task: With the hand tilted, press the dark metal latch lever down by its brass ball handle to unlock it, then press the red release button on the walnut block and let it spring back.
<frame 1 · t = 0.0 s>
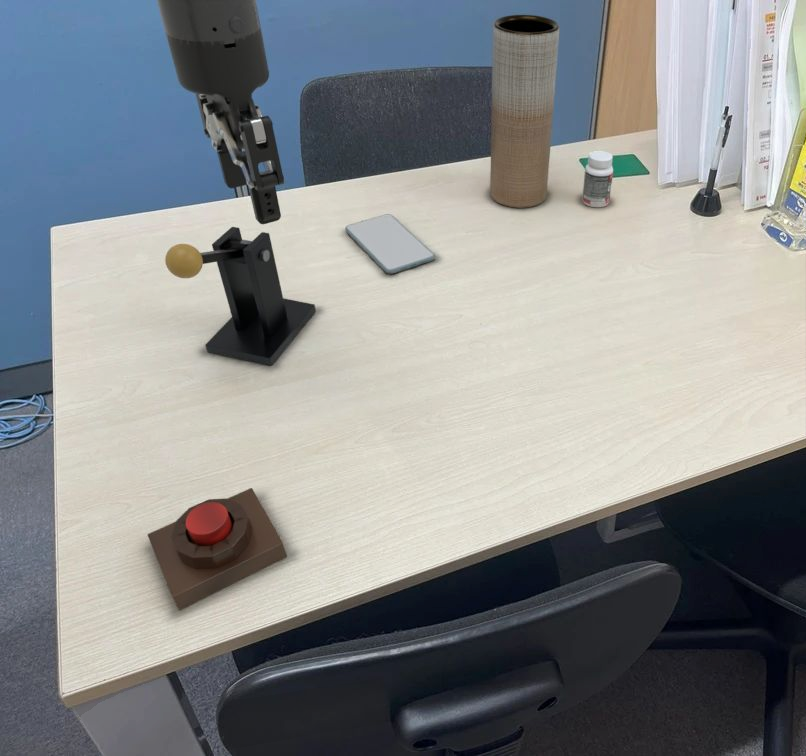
hand: (252, 202, 69), 24 cm above the table, tool pointing down, fingers open, 8 cm apart
latch lever: (215, 256, 79), point 14 cm above the table, hinge at 25.0°
vase: (518, 196, 123), on the table
latch bracket: (263, 331, 92), on the table
pill bottle: (595, 202, 122), on the table
smartphone: (389, 246, 109), on the table
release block: (220, 552, 67), on the table
release button: (208, 523, 64), point 4 cm above the table, slide at 0.1 cm
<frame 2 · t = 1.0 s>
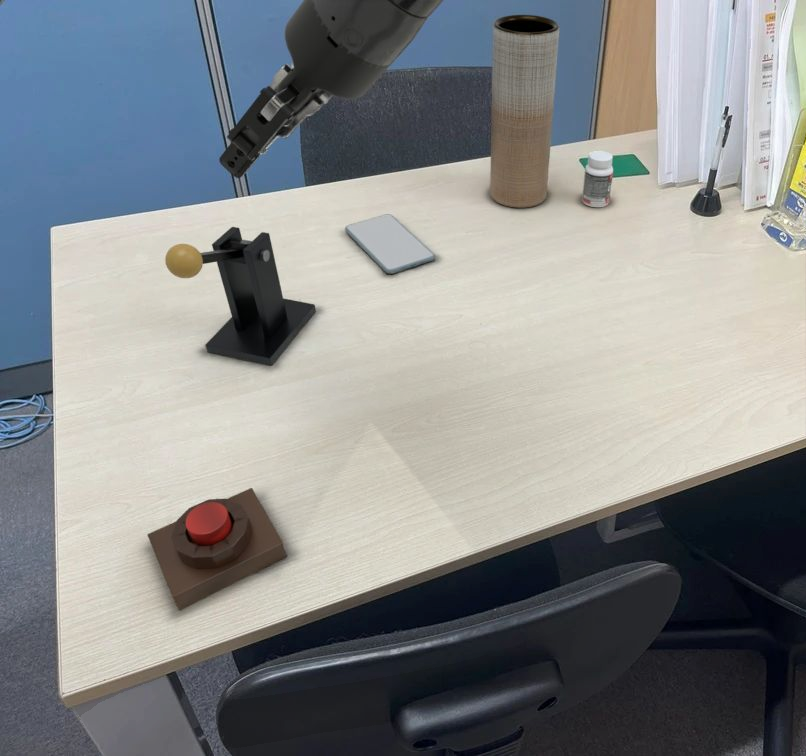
hand: (254, 148, 63), 30 cm above the table, tool tilted 45°, fingers open, 8 cm apart
nothing on the table moved.
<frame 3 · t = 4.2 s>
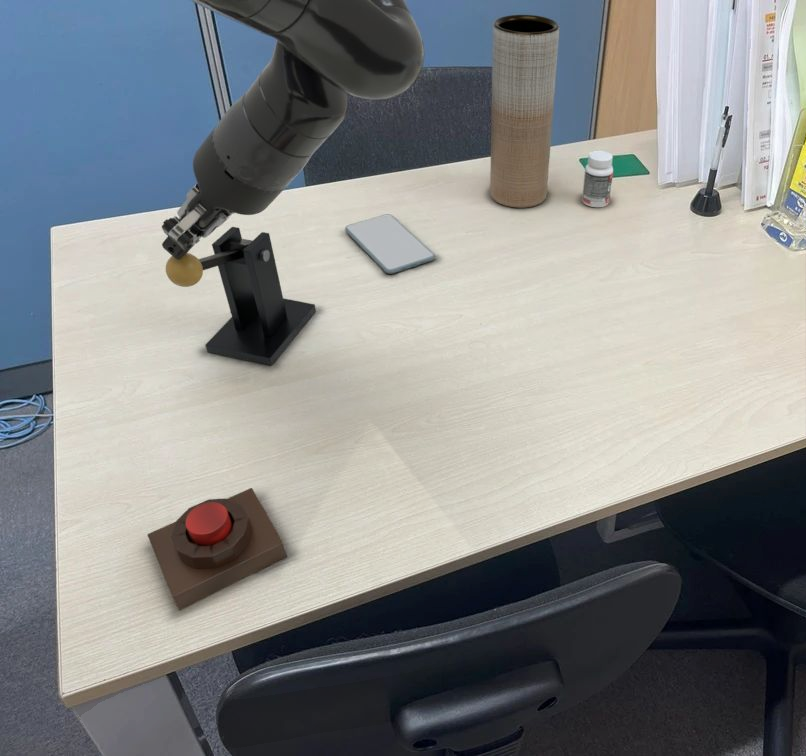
hand: (173, 249, 73), 18 cm above the table, tool tilted 45°, fingers closed
latch lever: (215, 260, 79), point 14 cm above the table, hinge at 20.1°, touching gripper
everything else where it was.
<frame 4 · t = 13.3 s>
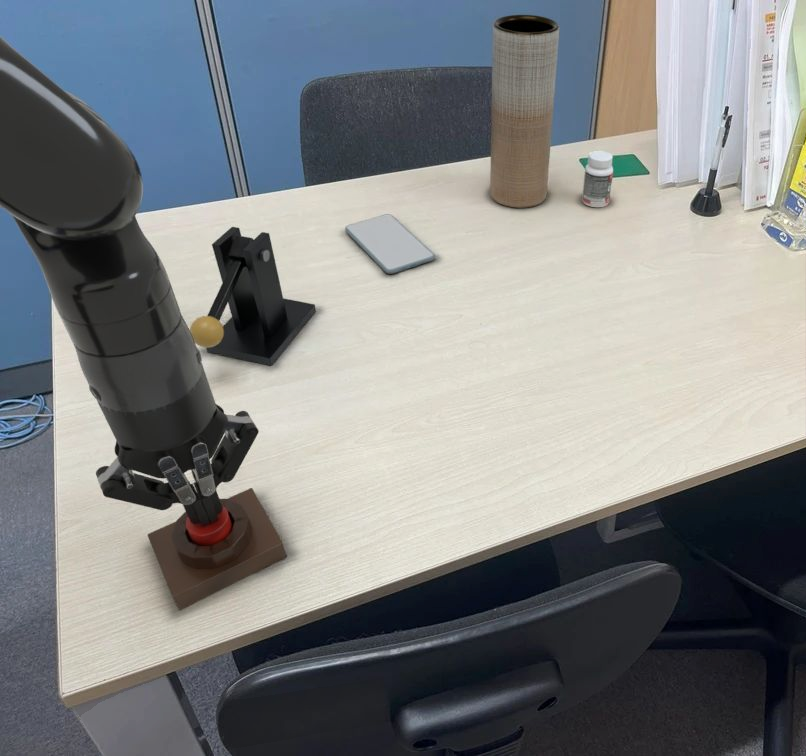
hand: (207, 517, 63), 5 cm above the table, tool pointing down, fingers closed
latch lever: (225, 292, 82), point 10 cm above the table, hinge at -25.8°
release button: (209, 524, 64), point 4 cm above the table, slide at -0.1 cm, touching gripper
everything else where it was.
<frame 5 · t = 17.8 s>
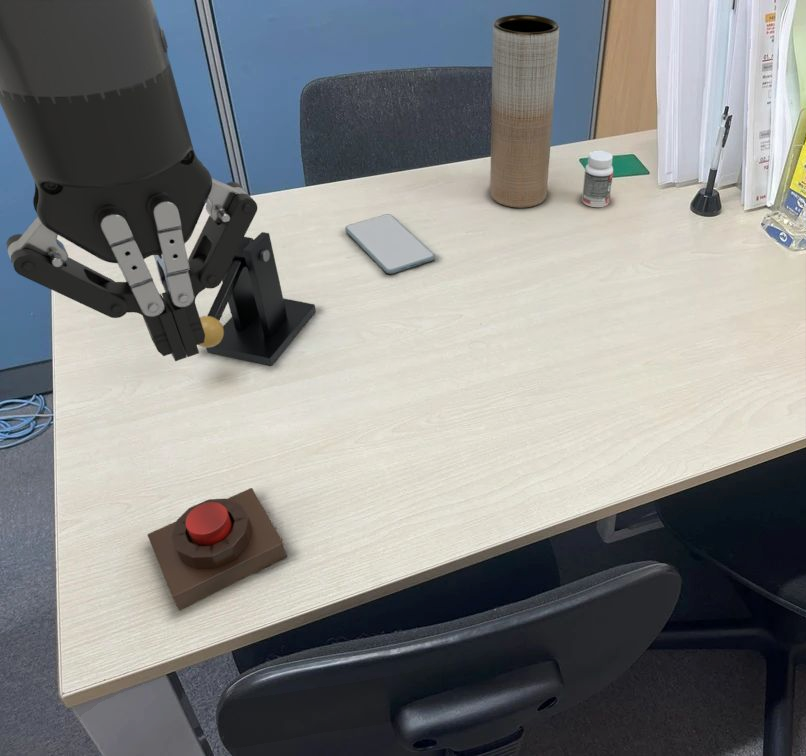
hand: (182, 350, 44), 29 cm above the table, tool pointing down, fingers closed
release button: (208, 523, 64), point 4 cm above the table, slide at 0.1 cm
everything else where it was.
at the end: latch lever at -26° (first picture: +25°); release button pushed in 1.1 cm at the most during the clip, back to where it started at the end; release button slide at 0.1 cm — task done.
